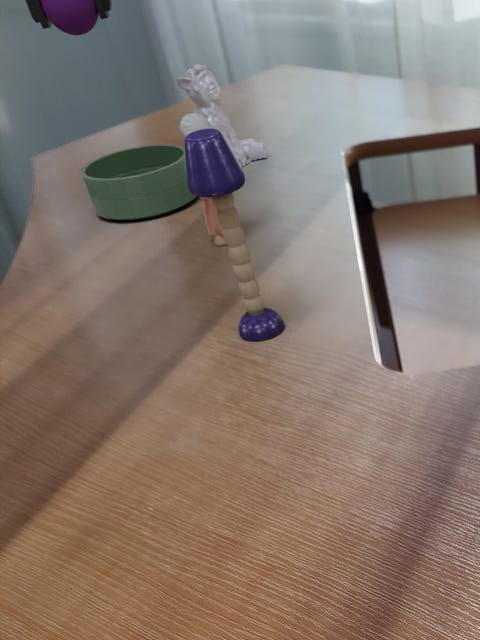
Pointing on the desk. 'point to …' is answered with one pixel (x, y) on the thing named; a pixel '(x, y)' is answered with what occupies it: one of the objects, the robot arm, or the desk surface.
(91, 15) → the ball
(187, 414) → the desk surface
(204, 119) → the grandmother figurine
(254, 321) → the toy lamp
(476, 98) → the desk surface
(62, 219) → the desk surface
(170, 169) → the bowl
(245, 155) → the white creature statuette
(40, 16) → the robot arm
